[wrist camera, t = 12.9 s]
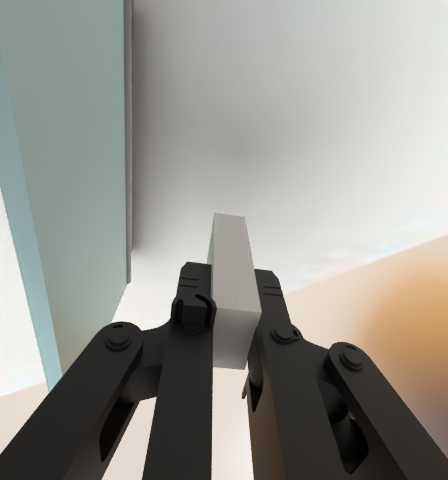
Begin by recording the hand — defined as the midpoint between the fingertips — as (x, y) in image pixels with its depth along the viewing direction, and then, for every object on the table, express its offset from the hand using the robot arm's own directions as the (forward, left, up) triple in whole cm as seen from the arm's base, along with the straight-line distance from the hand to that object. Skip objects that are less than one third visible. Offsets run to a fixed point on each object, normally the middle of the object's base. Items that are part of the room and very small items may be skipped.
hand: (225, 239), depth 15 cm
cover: (0, -8, -2) cm, 8 cm away
